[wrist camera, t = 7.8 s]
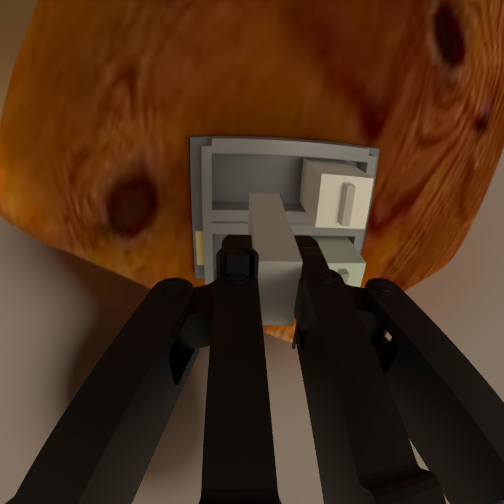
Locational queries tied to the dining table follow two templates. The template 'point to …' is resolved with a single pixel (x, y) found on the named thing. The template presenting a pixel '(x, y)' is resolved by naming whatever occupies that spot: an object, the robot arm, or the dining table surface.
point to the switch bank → (258, 187)
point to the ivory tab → (335, 193)
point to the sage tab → (342, 258)
